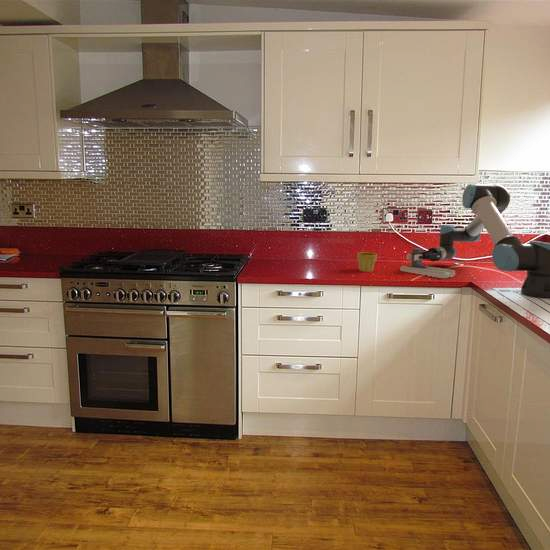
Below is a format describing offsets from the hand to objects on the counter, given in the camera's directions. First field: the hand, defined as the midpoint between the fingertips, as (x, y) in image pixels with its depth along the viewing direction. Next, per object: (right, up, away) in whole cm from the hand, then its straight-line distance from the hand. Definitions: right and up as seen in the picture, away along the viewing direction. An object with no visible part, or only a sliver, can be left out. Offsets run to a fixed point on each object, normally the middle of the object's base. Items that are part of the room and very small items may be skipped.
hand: (411, 257), depth 266 cm
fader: (+4, -5, +4) cm, 8 cm away
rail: (+8, -9, 0) cm, 12 cm away
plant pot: (-23, -8, +5) cm, 24 cm away
